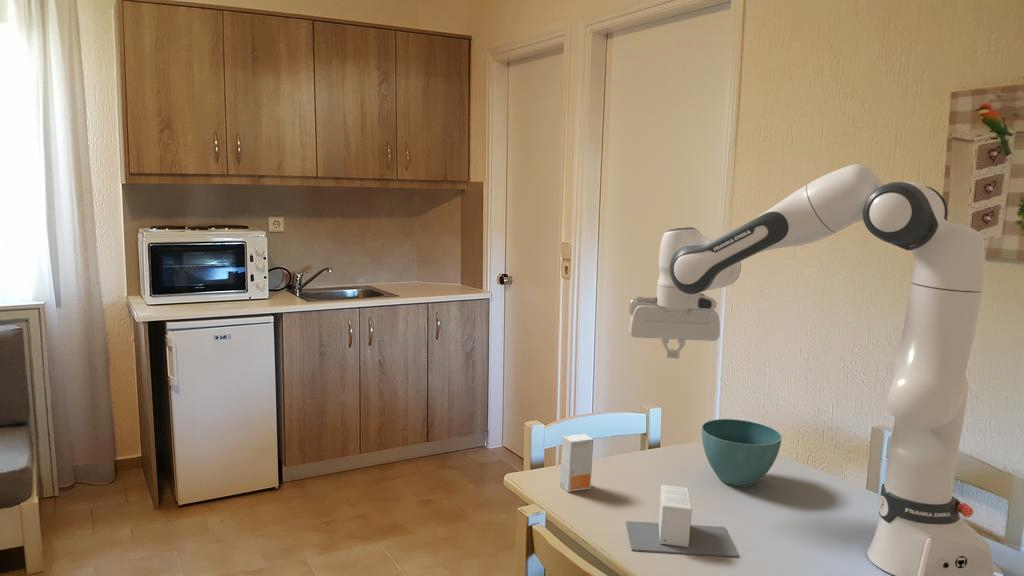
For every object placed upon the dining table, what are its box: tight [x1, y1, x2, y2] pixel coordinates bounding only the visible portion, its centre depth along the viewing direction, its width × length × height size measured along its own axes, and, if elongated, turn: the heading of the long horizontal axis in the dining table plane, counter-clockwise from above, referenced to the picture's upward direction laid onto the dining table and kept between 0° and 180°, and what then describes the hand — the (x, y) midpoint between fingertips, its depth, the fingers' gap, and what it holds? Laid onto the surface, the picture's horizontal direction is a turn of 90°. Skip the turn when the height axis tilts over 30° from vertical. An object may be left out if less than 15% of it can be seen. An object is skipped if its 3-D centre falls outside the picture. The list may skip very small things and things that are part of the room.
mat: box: [625, 520, 739, 558], centre depth 145 cm, size 20×12×1 cm, turn 87°
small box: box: [658, 484, 693, 547], centre depth 146 cm, size 8×6×10 cm
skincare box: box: [559, 433, 594, 493], centre depth 167 cm, size 6×4×12 cm
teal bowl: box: [701, 418, 783, 488], centre depth 175 cm, size 18×18×12 cm
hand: (672, 357), depth 169 cm, fingers closed
